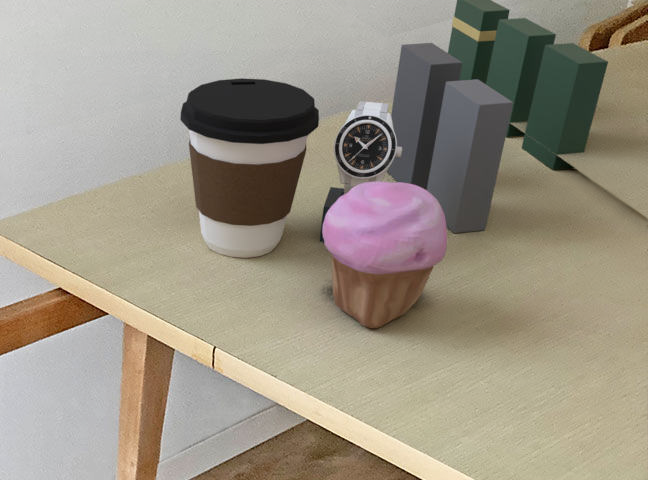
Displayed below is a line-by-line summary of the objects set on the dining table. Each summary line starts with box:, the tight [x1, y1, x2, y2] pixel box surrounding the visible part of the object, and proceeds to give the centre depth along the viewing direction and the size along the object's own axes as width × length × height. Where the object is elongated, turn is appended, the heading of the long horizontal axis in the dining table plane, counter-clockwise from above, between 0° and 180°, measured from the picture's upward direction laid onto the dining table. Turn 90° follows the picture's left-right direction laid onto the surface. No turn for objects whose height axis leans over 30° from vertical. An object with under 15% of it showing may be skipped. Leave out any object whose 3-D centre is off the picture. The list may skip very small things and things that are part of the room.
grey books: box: [386, 42, 513, 234], centre depth 95 cm, size 15×3×12 cm, turn 14°
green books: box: [486, 17, 609, 171], centre depth 107 cm, size 15×3×10 cm, turn 14°
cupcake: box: [322, 181, 448, 329], centre depth 79 cm, size 9×9×10 cm
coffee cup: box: [179, 77, 320, 259], centre depth 87 cm, size 11×11×12 cm
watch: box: [319, 100, 402, 243], centre depth 89 cm, size 6×8×11 cm
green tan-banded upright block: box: [447, 0, 510, 84], centre depth 118 cm, size 6×3×10 cm, turn 14°
